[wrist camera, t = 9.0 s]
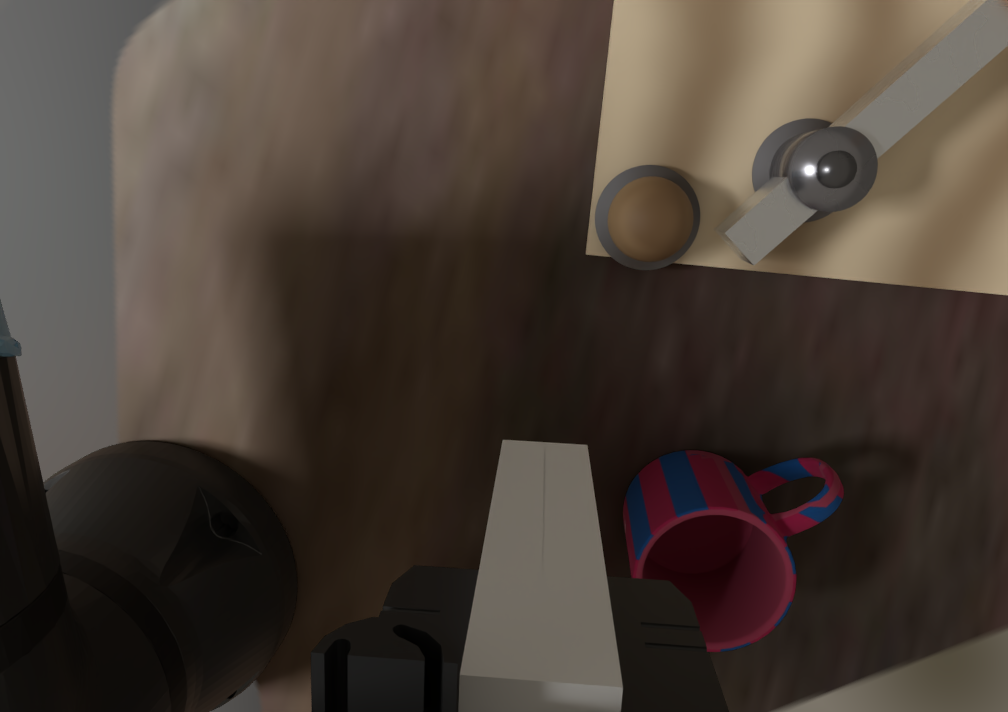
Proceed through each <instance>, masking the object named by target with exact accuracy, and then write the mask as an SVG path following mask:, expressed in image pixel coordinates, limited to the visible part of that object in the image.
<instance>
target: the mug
mask: <svg viewBox="0 0 1008 712" xmlns="http://www.w3.org/2000/svg"><path fill="white" fill-rule="evenodd" d="M809 476H817V477H820V478H824V479H825V480H826V481H825V486H824V488H823V489H822V491H821V492H820V493H819V494H818V495H817V496H816V497H814V498H813V499H811V500H810V501H808V502H807V503H805V504H803V505H801V506H799V507H797V508H795V509H792V510H789V511H787V512H782V513H776V514H770V513H769V512H768V510H767V508H766V507H765V505H764V503H763V501H762V495H763V494H765V493H767V492H768V491H770V490H772V489H774V488H775V487H777V486H780V485H782V484H784V483H787V482H789V481H792V480H796V479H800V478H804V477H809ZM843 496H844V488H843V485H842V483H841V481H840V479H839V476H838V474H837V473H836V472H835V471H834V470H833V469H832V468H831V467H830V466H829V465H828V464H827V463H826V462H824V461H822V460H820V459H816V458H812V457H810V458H797V459H793V460H788V461H785V462H782V463H778V464H776V465H773V466H770V467H768V468H765V469H763V470H760V471H758V472H755V473H754V474H752V475H750V476H746V475H745V474H744V473H743V471H742V470H741V469H740V468H738V467H737V466H736V465H735V464H733V463H732V462H731V461H729V460H727V459H725V458H724V457H722V456H719V455H716V454H713V453H710V452H705V451H699V450H684V451H678V452H673V453H670V454H667V455H664V456H661V457H659V458H658V459H656V460H654V461H652V462H651V463H649V464H648V465H647V466H645V467H644V468H643V469H642V470H641V471H640V472H639V473H638V474H637V475H636V476H635V478H634V479H633V481H632V483H631V484H630V486H629V488H628V491H627V493H626V495H625V500H624V505H623V521H624V528H625V535H626V542H627V550H628V557H629V564H630V571H631V578H639V579H653V580H668V581H670V582H671V583H672V584H673V585H674V586H675V587H676V588H677V589H678V590H679V591H680V592H682V593H683V594H684V595H685V596H686V597H687V598H688V599H689V600H690V601H691V602H692V605H693V608H694V611H695V614H696V617H697V620H698V623H699V626H700V631H702V634H703V637H704V640H705V643H706V646H707V652H722V651H731V650H735V649H738V648H742V647H745V646H748V645H750V644H752V643H754V642H756V641H758V640H760V639H761V638H763V637H764V636H766V635H767V634H769V633H770V632H771V631H772V630H773V629H774V628H775V627H776V626H777V625H778V624H779V623H780V622H781V620H782V619H783V618H784V616H785V615H786V614H787V612H788V610H789V608H790V606H791V604H792V602H793V598H794V594H795V590H796V579H797V575H796V568H795V562H794V559H793V556H792V554H791V551H790V549H789V547H788V545H787V542H786V540H787V537H789V536H791V535H794V534H797V533H799V532H802V531H804V530H807V529H809V528H811V527H813V526H815V525H817V524H819V523H821V522H822V521H824V520H825V519H827V518H828V517H829V516H830V515H831V514H832V513H834V512H835V511H836V509H837V508H838V507H839V505H840V503H841V502H842V500H843Z"/></svg>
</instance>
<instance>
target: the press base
mask: <svg viewBox="0 0 1008 712" xmlns="http://www.w3.org/2000/svg"><path fill="white" fill-rule="evenodd" d="M969 1H970V0H614V4H613V13H612V22H611V31H610V40H609V49H608V58H607V67H606V76H605V84H604V93H603V102H602V111H601V120H600V129H599V138H598V147H597V156H596V165H595V174H594V183H593V192H592V200H591V209H590V218H589V227H588V236H587V245H586V255H595V256H606V257H612V258H613V259H614V260H616V261H617V262H619V263H620V264H622V265H624V266H626V267H629V268H633V269H637V270H655V269H659V268H662V267H665V266H668V265H670V264H672V263H679V264H689V265H699V266H710V267H720V268H730V269H741V270H751V271H762V272H772V273H782V274H793V275H803V276H814V277H824V278H834V279H845V280H855V281H866V282H876V283H886V284H897V285H907V286H917V287H928V288H938V289H949V290H959V291H969V292H980V293H990V294H1001V295H1008V46H1007V47H1006V48H1005V49H1003V50H1002V51H1001V52H1000V53H999V54H998V55H997V56H995V57H994V58H993V59H992V60H991V61H990V62H988V63H987V64H986V65H985V66H984V67H983V68H982V69H980V70H979V71H978V72H977V73H976V74H975V75H973V76H972V77H971V78H970V79H969V80H968V81H967V82H965V83H964V84H963V85H962V86H961V87H960V88H958V89H957V90H956V91H955V92H954V93H953V94H952V95H950V96H949V97H948V98H947V99H946V100H945V101H943V102H942V103H941V104H940V105H939V106H938V107H937V108H935V109H934V110H933V111H932V112H931V113H930V114H928V115H927V116H926V117H925V118H924V119H923V120H922V121H920V122H919V123H918V124H917V125H916V126H915V127H913V128H912V129H911V130H910V131H909V132H908V133H907V134H905V135H904V136H903V137H902V138H901V139H900V140H898V141H897V142H896V143H895V144H894V145H893V146H892V147H890V148H889V149H888V150H887V151H886V152H885V153H883V154H882V155H881V156H880V157H879V158H878V159H877V160H878V170H877V176H876V179H875V182H874V184H873V186H872V188H871V189H870V191H869V192H868V194H867V195H866V196H865V197H864V198H863V199H862V200H861V201H860V202H858V203H857V204H855V205H854V206H852V207H850V208H848V209H845V210H842V211H837V212H824V211H817V212H815V213H814V214H813V215H812V216H811V217H810V218H808V219H807V220H806V221H805V222H804V223H803V224H802V225H800V226H799V227H798V228H797V229H796V230H795V231H793V232H792V233H791V234H790V235H789V236H788V237H787V238H785V239H784V240H783V241H782V242H781V243H780V244H778V245H777V246H776V247H775V248H774V249H773V250H772V251H770V252H769V253H768V254H767V255H766V256H765V257H763V258H762V259H761V260H760V261H759V262H758V263H757V264H755V265H752V264H749V263H747V262H745V261H743V260H741V259H740V258H739V257H738V256H737V255H736V254H735V253H734V251H733V250H732V249H731V248H730V247H729V246H728V245H727V244H726V243H725V241H724V240H723V239H722V238H721V237H720V236H719V235H718V234H717V233H716V231H715V230H714V229H715V228H716V227H717V226H718V225H719V224H720V223H721V222H722V221H724V220H725V219H726V218H727V217H728V216H729V215H730V214H731V213H733V212H734V211H735V210H736V209H737V208H738V207H739V206H740V205H742V204H743V203H744V202H745V201H746V200H747V199H748V198H749V197H750V196H752V195H753V194H754V193H755V192H756V191H757V190H758V189H759V188H761V187H762V186H763V185H764V184H765V183H766V182H767V181H768V180H769V179H770V178H769V170H770V165H771V161H772V159H773V156H774V155H775V153H776V151H777V150H778V149H779V147H780V146H781V145H782V144H783V143H784V142H786V141H787V140H788V139H790V138H792V137H794V136H796V135H798V134H802V133H806V132H811V131H815V130H820V129H824V128H828V127H829V126H830V125H831V124H832V123H833V122H834V121H836V120H837V119H838V118H839V117H840V116H841V115H842V114H843V113H844V112H846V111H847V110H848V109H849V108H850V107H851V106H852V105H853V104H855V103H856V102H857V101H858V100H859V99H860V98H861V97H862V96H864V95H865V94H866V93H867V92H868V91H869V90H870V89H871V88H872V87H874V86H875V85H876V84H877V83H878V82H879V81H880V80H881V79H883V78H884V77H885V76H886V75H887V74H888V73H889V72H890V71H891V70H893V69H894V68H895V67H896V66H897V65H898V64H899V63H900V62H902V61H903V60H904V59H905V58H906V57H907V56H908V55H909V54H911V53H912V52H913V51H914V50H915V49H916V48H917V47H918V46H919V45H921V44H922V43H923V42H924V41H925V40H926V39H927V38H928V37H930V36H931V35H932V34H933V33H934V32H935V31H936V30H937V29H938V28H940V27H941V26H942V25H943V24H944V23H945V22H946V21H947V20H949V19H950V18H951V17H952V16H953V15H954V14H955V13H956V12H958V11H959V10H960V9H961V8H962V7H963V6H964V5H965V4H966V3H968V2H969Z"/></svg>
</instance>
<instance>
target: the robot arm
mask: <svg viewBox="0 0 1008 712" xmlns="http://www.w3.org/2000/svg"><path fill="white" fill-rule="evenodd" d="M21 355H22V354H21V346H20V343H19V342H18V341H16V340H15V339H13V338H12V337H11V335H10V332H9V328H8V325H7V321H6V318H5V315H4V311H3V307H2V304H1V300H0V712H210V711H212V710H214V709H216V708H218V707H220V706H222V705H224V704H226V703H227V702H229V701H230V700H232V699H233V698H235V697H236V696H237V695H239V694H240V693H242V692H243V691H244V690H245V689H246V688H247V687H248V686H250V684H251V683H253V681H254V680H255V679H256V678H257V677H258V676H259V675H260V674H261V673H262V671H263V670H264V669H265V667H266V666H267V664H268V663H269V661H270V660H271V658H272V657H273V655H274V654H275V652H276V650H277V649H278V647H279V646H280V644H281V643H282V641H283V639H284V637H285V636H286V634H287V632H288V629H289V627H290V624H291V621H292V618H293V615H294V611H295V606H296V599H297V574H296V567H295V561H294V557H293V553H292V550H291V547H290V544H289V541H288V538H287V536H286V534H285V531H284V529H283V527H282V525H281V523H280V522H279V520H278V518H277V517H276V515H275V513H274V512H273V511H272V509H271V508H270V506H269V505H268V504H267V502H266V501H265V500H264V499H263V497H262V496H261V495H260V494H259V493H258V492H257V491H256V490H255V489H254V488H253V487H252V486H251V485H250V484H249V483H248V482H247V481H246V480H244V479H243V478H242V477H241V476H240V475H238V474H237V473H236V472H234V471H233V470H232V469H230V468H229V467H227V466H225V465H224V464H222V463H221V462H219V461H217V460H215V459H213V458H211V457H209V456H207V455H205V454H203V453H200V452H198V451H195V450H192V449H189V448H186V447H183V446H179V445H174V444H169V443H163V442H152V441H137V442H127V443H120V444H116V445H112V446H108V447H105V448H102V449H99V450H97V451H95V452H92V453H90V454H88V455H86V456H84V457H83V458H81V459H79V460H77V461H76V462H74V463H72V464H70V465H68V466H67V467H65V468H63V469H61V470H60V471H58V472H57V473H55V474H54V475H52V476H51V477H50V478H48V479H47V480H46V481H45V482H43V480H42V475H41V470H40V466H39V461H38V457H37V452H36V447H35V443H34V438H33V434H32V429H31V425H30V420H29V415H28V411H27V406H26V402H25V397H24V392H23V388H22V383H21V379H20V374H19V370H18V365H17V360H16V356H21ZM311 693H312V712H729V710H728V708H727V705H726V702H725V699H724V696H723V693H722V690H721V687H720V684H719V681H718V678H717V675H716V672H715V669H714V667H713V664H712V661H711V658H710V655H709V652H707V646H706V643H705V640H704V637H703V634H702V631H700V626H699V623H698V620H697V617H696V614H695V611H694V608H693V605H692V602H691V601H690V600H689V599H688V598H687V597H686V596H685V595H684V594H683V593H682V592H680V591H679V590H678V589H677V588H676V587H675V586H674V585H673V584H672V583H671V582H670V581H668V580H653V579H639V578H625V577H611V576H607V575H606V568H605V562H604V555H603V548H602V541H601V534H600V528H599V521H598V514H597V507H596V500H595V494H594V487H593V480H592V473H591V466H590V460H589V453H588V446H587V445H580V444H564V443H548V442H532V441H516V440H503V441H502V446H501V452H500V457H499V463H498V468H497V474H496V479H495V485H494V490H493V496H492V501H491V506H490V512H489V517H488V523H487V528H486V534H485V539H484V545H483V550H482V556H481V561H480V567H479V570H473V569H459V568H445V567H430V566H416V565H414V566H413V567H412V568H410V569H409V570H408V571H407V572H406V573H404V574H403V575H402V576H401V577H399V578H398V579H397V580H396V581H395V582H393V583H392V585H391V587H390V590H389V592H388V595H387V597H386V600H385V603H384V605H383V611H381V613H380V615H379V617H371V618H368V619H364V620H360V621H356V622H353V623H349V624H346V625H344V626H342V627H340V628H338V629H337V630H335V631H333V632H331V633H330V634H328V635H326V636H324V638H323V639H322V640H321V641H320V642H319V644H318V645H317V646H316V647H315V648H314V649H313V651H312V652H311Z"/></svg>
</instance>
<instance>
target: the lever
mask: <svg viewBox="0 0 1008 712" xmlns="http://www.w3.org/2000/svg"><path fill="white" fill-rule="evenodd" d="M1007 46H1008V0H970V1H969V2H968V3H966V4H965V5H964V6H963V7H962V8H961V9H960V10H959V11H958V12H956V13H955V14H954V15H953V16H952V17H951V18H950V19H949V20H947V21H946V22H945V23H944V24H943V25H942V26H941V27H940V28H938V29H937V30H936V31H935V32H934V33H933V34H932V35H931V36H930V37H928V38H927V39H926V40H925V41H924V42H923V43H922V44H921V45H919V46H918V47H917V48H916V49H915V50H914V51H913V52H912V53H911V54H909V55H908V56H907V57H906V58H905V59H904V60H903V61H902V62H900V63H899V64H898V65H897V66H896V67H895V68H894V69H893V70H891V71H890V72H889V73H888V74H887V75H886V76H885V77H884V78H883V79H881V80H880V81H879V82H878V83H877V84H876V85H875V86H874V87H872V88H871V89H870V90H869V91H868V92H867V93H866V94H865V95H864V96H862V97H861V98H860V99H859V100H858V101H857V102H856V103H855V104H853V105H852V106H851V107H850V108H849V109H848V110H847V111H846V112H844V113H843V114H842V115H841V116H840V117H839V118H838V119H837V120H836V121H834V122H833V123H832V124H831V125H830V126H829V127H828V128H824V129H820V130H815V131H811V132H806V133H802V134H798V135H796V136H794V137H792V138H790V139H788V140H787V141H786V142H784V143H783V144H782V145H781V146H780V147H779V149H778V150H777V151H776V153H775V155H774V156H773V159H772V161H771V165H770V170H769V178H770V179H769V180H768V181H767V182H766V183H765V184H764V185H763V186H762V187H761V188H759V189H758V190H757V191H756V192H755V193H754V194H753V195H752V196H750V197H749V198H748V199H747V200H746V201H745V202H744V203H743V204H742V205H740V206H739V207H738V208H737V209H736V210H735V211H734V212H733V213H731V214H730V215H729V216H728V217H727V218H726V219H725V220H724V221H722V222H721V223H720V224H719V225H718V226H717V227H716V228H715V229H714V230H715V231H716V233H717V234H718V235H719V236H720V237H721V238H722V239H723V240H724V241H725V243H726V244H727V245H728V246H729V247H730V248H731V249H732V250H733V251H734V253H735V254H736V255H737V256H738V257H739V258H740V259H741V260H743V261H745V262H747V263H749V264H752V265H755V264H757V263H758V262H759V261H760V260H761V259H762V258H763V257H765V256H766V255H767V254H768V253H769V252H770V251H772V250H773V249H774V248H775V247H776V246H777V245H778V244H780V243H781V242H782V241H783V240H784V239H785V238H787V237H788V236H789V235H790V234H791V233H792V232H793V231H795V230H796V229H797V228H798V227H799V226H800V225H802V224H803V223H804V222H805V221H806V220H807V219H808V218H810V217H811V216H812V215H813V214H814V213H815V212H817V211H824V212H837V211H842V210H845V209H848V208H850V207H852V206H854V205H855V204H857V203H858V202H860V201H861V200H862V199H863V198H864V197H865V196H866V195H867V194H868V192H869V191H870V189H871V188H872V186H873V184H874V182H875V179H876V176H877V170H878V160H877V159H878V158H879V157H880V156H881V155H882V154H883V153H885V152H886V151H887V150H888V149H889V148H890V147H892V146H893V145H894V144H895V143H896V142H897V141H898V140H900V139H901V138H902V137H903V136H904V135H905V134H907V133H908V132H909V131H910V130H911V129H912V128H913V127H915V126H916V125H917V124H918V123H919V122H920V121H922V120H923V119H924V118H925V117H926V116H927V115H928V114H930V113H931V112H932V111H933V110H934V109H935V108H937V107H938V106H939V105H940V104H941V103H942V102H943V101H945V100H946V99H947V98H948V97H949V96H950V95H952V94H953V93H954V92H955V91H956V90H957V89H958V88H960V87H961V86H962V85H963V84H964V83H965V82H967V81H968V80H969V79H970V78H971V77H972V76H973V75H975V74H976V73H977V72H978V71H979V70H980V69H982V68H983V67H984V66H985V65H986V64H987V63H988V62H990V61H991V60H992V59H993V58H994V57H995V56H997V55H998V54H999V53H1000V52H1001V51H1002V50H1003V49H1005V48H1006V47H1007Z"/></svg>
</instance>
